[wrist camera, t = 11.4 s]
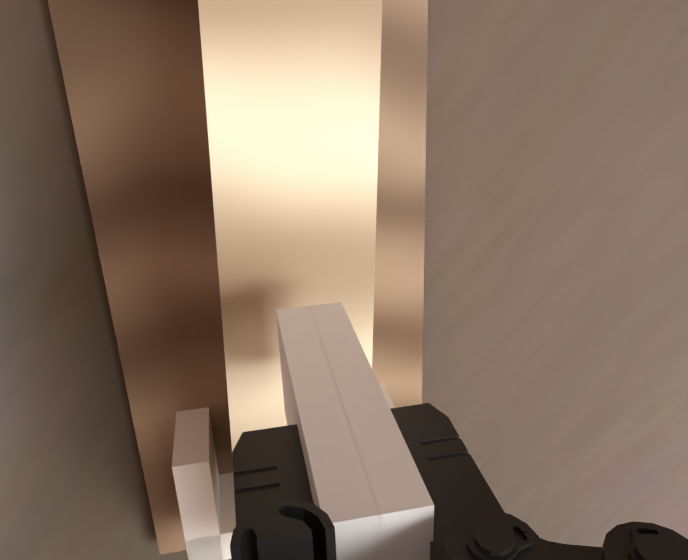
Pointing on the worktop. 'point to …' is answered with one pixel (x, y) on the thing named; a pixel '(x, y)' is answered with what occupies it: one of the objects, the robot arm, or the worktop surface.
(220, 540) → the end caps
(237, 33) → the slat
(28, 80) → the worktop surface
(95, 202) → the walnut board
